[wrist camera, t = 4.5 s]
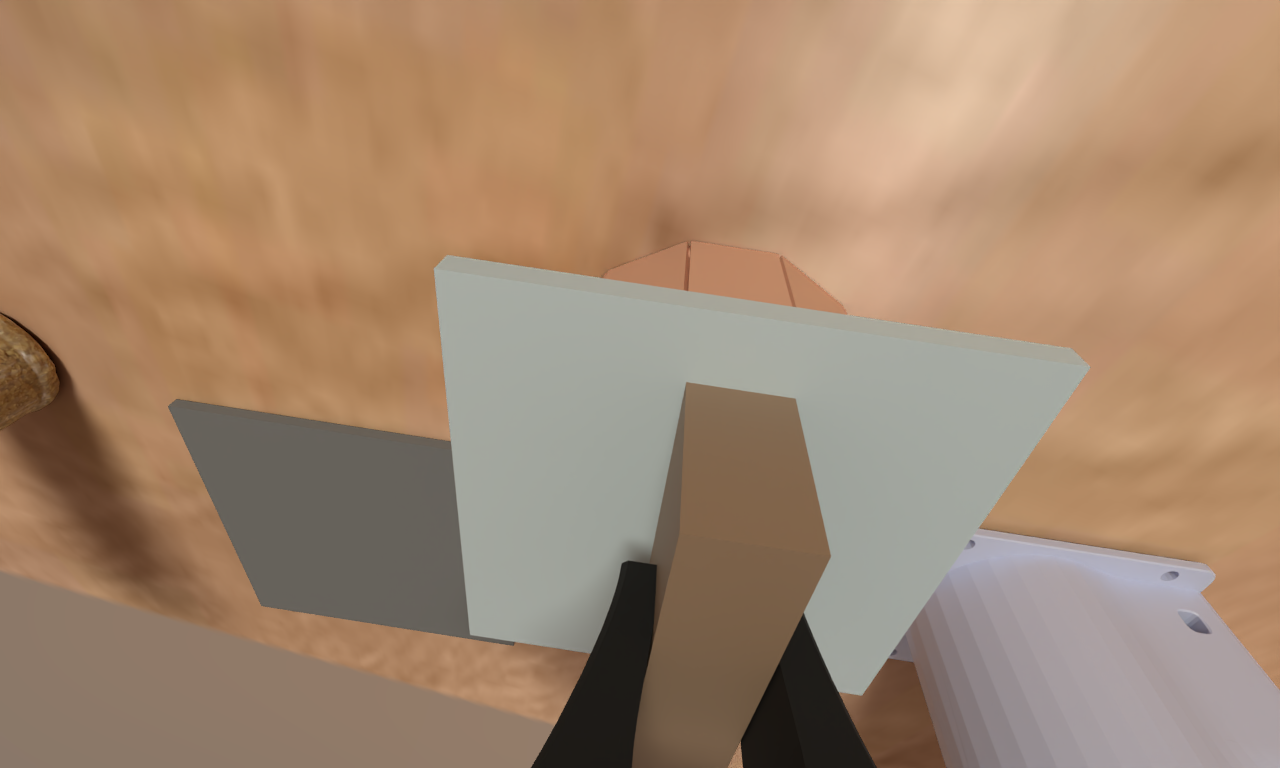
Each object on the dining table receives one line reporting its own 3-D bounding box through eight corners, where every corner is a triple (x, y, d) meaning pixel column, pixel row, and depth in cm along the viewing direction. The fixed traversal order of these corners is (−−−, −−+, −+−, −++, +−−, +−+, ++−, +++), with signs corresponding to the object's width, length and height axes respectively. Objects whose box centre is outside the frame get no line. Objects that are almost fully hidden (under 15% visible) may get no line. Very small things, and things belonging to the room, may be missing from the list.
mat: (512, 451, 20) (509, 458, 19) (515, 637, 27) (513, 645, 26) (176, 399, 20) (167, 405, 20) (266, 598, 27) (261, 605, 27)
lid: (1070, 348, 10) (1261, 533, 6) (857, 674, 16) (897, 852, 13) (447, 255, 10) (316, 389, 7) (476, 615, 16) (417, 778, 13)
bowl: (904, 272, 15) (961, 354, 12) (806, 507, 20) (825, 608, 17) (564, 221, 15) (525, 288, 12) (554, 468, 20) (525, 561, 17)
